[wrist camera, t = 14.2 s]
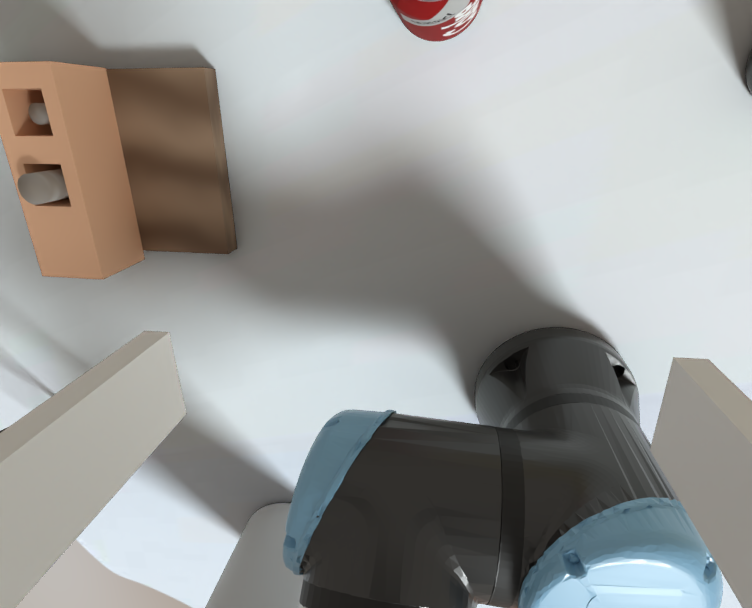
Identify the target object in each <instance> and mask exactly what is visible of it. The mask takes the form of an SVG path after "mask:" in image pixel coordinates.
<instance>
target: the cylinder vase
mask: <svg viewBox="0 0 752 608" xmlns="http://www.w3.org/2000/svg"><path fill="white" fill-rule="evenodd" d="M290 505H291V503H275V504H270V505H267V506H265V507H262V508H261V509H259V510H258V511H256V512H255V513H254V514H253V515H252V516H251V518H250V519H249V521H248V523H247V525H246V527H245V529H244V531H243V533H242V535H241V537H240V539H239V541H238V543H237V545H236V547H235V549H234V551H233V553H232V555H231V557H230V559H229V561H228V563H227V565H226V567H225V569H224V571H223V573H222V575H221V577H220V579H219V581H218V583H217V585H216V587H215V589H214V591H213V593H212V595H211V597H210V599H209V601H208V603H207V605H206V607H205V608H299V607H298V606H299V600H300V594H301V589H302V583H303V575H295V574H294V573H293V571H291V570H290V569H288V568H287V567H286V566H285V563H284V560H283V543H284V540H285V536H286V530H285V529H286V521H287V517H288V512H289V508H290Z"/></svg>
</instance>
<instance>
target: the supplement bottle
mask: <svg viewBox="0 0 752 608" xmlns="http://www.w3.org/2000/svg"><path fill="white" fill-rule="evenodd" d="M746 82H747V86H748V88H749V90H750V92H751V94H752V50H751V52H750V54H749V57H748V60H747V65H746Z"/></svg>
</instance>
